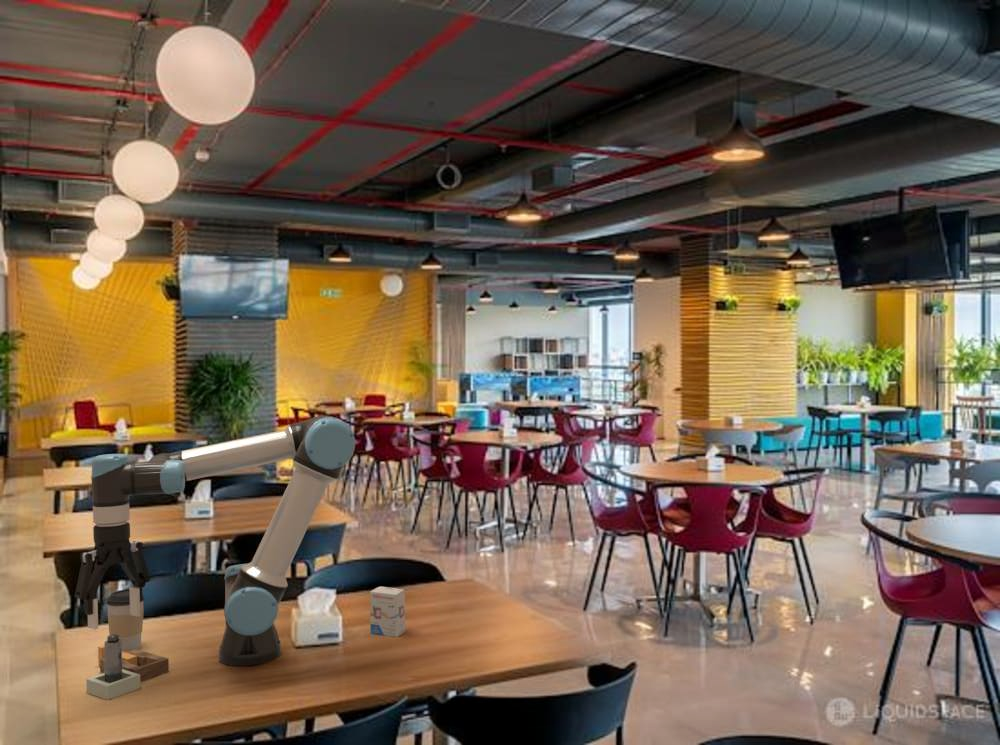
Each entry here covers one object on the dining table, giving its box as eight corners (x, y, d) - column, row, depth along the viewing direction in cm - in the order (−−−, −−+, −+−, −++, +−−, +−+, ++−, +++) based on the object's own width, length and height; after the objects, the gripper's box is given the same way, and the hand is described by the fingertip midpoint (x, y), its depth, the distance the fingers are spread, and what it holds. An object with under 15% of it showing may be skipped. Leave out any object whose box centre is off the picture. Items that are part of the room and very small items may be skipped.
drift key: (140, 667, 203) (140, 649, 203) (124, 673, 200) (124, 654, 200) (114, 659, 209) (114, 641, 209) (98, 664, 205) (98, 646, 205)
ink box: (369, 633, 228) (368, 590, 228) (378, 628, 233) (378, 585, 233) (396, 637, 225) (396, 593, 225) (405, 631, 230) (405, 588, 229)
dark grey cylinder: (125, 688, 190) (125, 635, 190) (111, 694, 187) (110, 639, 187) (116, 685, 192) (115, 632, 192) (101, 690, 189) (101, 637, 189)
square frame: (140, 687, 191) (140, 674, 191) (107, 699, 184) (107, 686, 184) (119, 680, 195) (119, 668, 195) (86, 692, 188) (86, 679, 188)
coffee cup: (130, 656, 212) (129, 597, 211) (98, 654, 213) (98, 595, 213) (152, 644, 221) (151, 587, 220) (121, 642, 222) (121, 585, 222)
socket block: (168, 671, 201) (168, 658, 201) (134, 683, 194) (134, 670, 194) (134, 660, 208) (134, 648, 208) (100, 672, 201) (100, 659, 201)
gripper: (145, 513, 201) (148, 606, 201) (53, 530, 182) (57, 633, 182) (165, 516, 197) (167, 610, 197) (73, 534, 178) (77, 638, 178)
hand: (114, 621), depth 190 cm, fingers open, 10 cm apart
